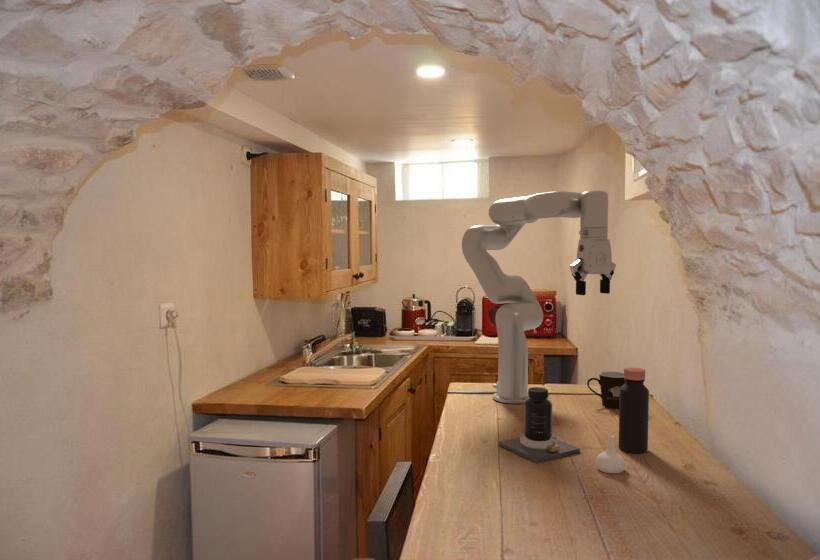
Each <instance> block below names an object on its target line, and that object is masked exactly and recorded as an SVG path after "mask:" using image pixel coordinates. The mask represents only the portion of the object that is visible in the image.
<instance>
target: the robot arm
mask: <svg viewBox="0 0 820 560" xmlns="http://www.w3.org/2000/svg"><path fill="white" fill-rule="evenodd" d="M488 217H489V220H491V222H492V223H494V224H496V225H493V224H491V225H490V224H479V225H473V226H470V227H469V228H467V229H466V230H465V232H464V233H463V236H462V240H461V250H462V254H463V258H464V260H465V262H466V263H467V264H468V266H469V267H470V268H471V270H472V272H473V273H474V275H475V277H476V279H477V281H478V283H479V284H480V286H481V288H482V291H484V292H483V293H485V296H486V297H487V299H488V300H489V301H490V302H491V303H493V304H497V305H498V304H500V305H501V304H502V305H501V306H500V307H499V308H498V309H497V310H496V312H495V313H496V314H495V318H494V319H495V327H496V331H497V342H498V343H497V351H498V355H497V356H498V357H497V359H498V360H497V361H498V364H497V365H498V366H497V368H498V370H497V371H498V372H497V373H498V374H497V382H496V383H493V385H492V388H493V389H496V392H495V393H493V395H492V396H493V397H492V398H493V400H495V401H497V402H500V403H504V404H512V405H513V404H515V405H517V404H524V403H525V401H526V400H527V399H529V397H528V389H529V388H528V387H529V386H528V384H529V383H528V382H529V380H528V379H529V378H528V377H529V373H528V372H529V344H528V340H527V337H526V333H525V331H531V330H534V329H536V328H538V327H540V326H541V325H542V323H543V320H544V311H543V309H542V307H541V304H540V302H539V301H538V299H537V298H536V296H535V294H534V292H533V290H532V288H531V287H530V285H529V284H528V282H527V281H526V280H525V279H524V278H523V277H522V276H520V275H518V274H506V273H504V272H503V270H502V268H501V267H500V264H499V263H498V261H497V259H495V257H493V256H492V255H491V254H490V253H489V252H488V251H500V250H503V249H505V248H506V247H508V246H509V245H510V244H511V242H512V241H513V240H514V239H515V237H516V236H517V235H518V234H519V232H520V231H521V230H522V229H523V227H524V226H525V225H526V224H534V223H536V222H537V221H538V220H539V219H550V218H569V219H577V218H578V219H579V218H580V222H579V223H580V224H579V225H580V229H579V233H578V234H579V236H580V237H579V239H578V245H577V249H576V250H577V251H576V260H575V261H574V262H573V263H572V264H570V266H569V270H570V272H571V275H572V277H573V280H574V281H575V294H576V295H577V296H586V295H587V294H586V293H587V290H586V286H587V281H586V280H585V279H586V278H587V276H588V275H599V276H600V278H601V279H599V293H600V294H608V295H609V294H610V293H611V280H612V278H613V276H614V274H615V269H616V267H617V264H616V263H614V262H613V258H612V247H611V241H610V239H609V238H608V237H609V236H608V235H609V234H608V233H609V232H608V231H609V228H608V227H609V194H608V193H607V192H606V191H604V190H588V191H587V190H586V191H584V192H575V191H574V192H573V191H566V190H565V191H563V190H555V191H554V190H553V191H546V192H539V193H534V194H530V195H526V196H518V197H511V198H503V199H499V200H495V201H494V202H493V203H491V205H490V206H489V209H488Z"/></svg>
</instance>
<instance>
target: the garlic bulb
mask: <svg viewBox="0 0 820 560" xmlns="http://www.w3.org/2000/svg"><path fill="white" fill-rule="evenodd" d="M605 449H606V450H605V451H603V452H600V453H599V454H597V457H596V458H595V466H596V468H597V469H598V471H600V472H603V473H606V474H621V473H622V472H624V471H625V469H626V462H625V460H624V458H623V456H622V455H620V454H619V453H618V452H617V450H616V443H615V436H614V435H612V434H608V440H607V446H606V448H605Z"/></svg>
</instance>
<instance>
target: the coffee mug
mask: <svg viewBox="0 0 820 560" xmlns="http://www.w3.org/2000/svg"><path fill="white" fill-rule="evenodd" d="M598 374H599V378H597V377H591V378H589V379H588V380H587V382H586V385H587V388H588V389H589V390H590V391H591V392H592V393H593V394H595V395H597V396H598V397H599V398H601V404H602V407H604V406H605V408H606V407H608V408H607V409H615V410H619V398H620V388H621V386H623V385H624V384H625V380H624V372H621V371H600V372H599V373H598ZM591 381H597V382H598V384H599V386H600V393H601V394H600V393H599V392H597V391H595V390H593V389H592V388H591V387H590V382H591Z"/></svg>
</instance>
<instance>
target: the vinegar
mask: <svg viewBox="0 0 820 560" xmlns="http://www.w3.org/2000/svg"><path fill="white" fill-rule="evenodd" d="M623 373H624V380H625V384H624V385H623V386H621V388H620V398H619V409H618V448H619V449H620V450H621V451H623V452H625V453H630V454H644V453H646V452H648V448H649V444H648V443H649V408H650V407H649V406H650V405H649V404H650V403H649V400H650V390H649V389H648V388H647V386H645V385H644V383H645V381H646V370H645V369H644V368H641V367H640V368H639V367H625V368H624V369H623Z"/></svg>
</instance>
